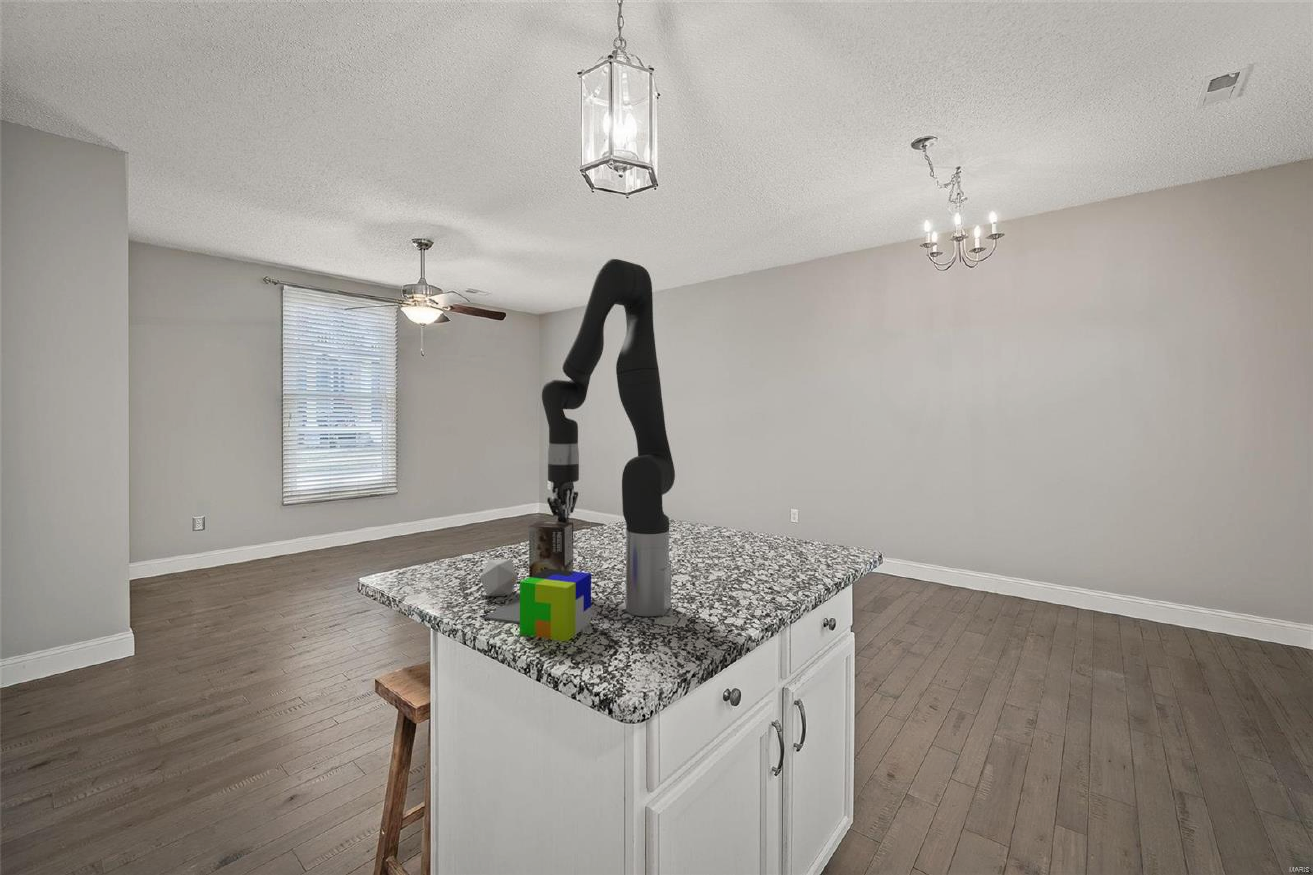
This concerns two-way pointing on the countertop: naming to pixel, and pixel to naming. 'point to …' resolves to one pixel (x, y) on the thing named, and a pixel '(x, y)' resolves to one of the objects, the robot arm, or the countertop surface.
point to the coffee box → (550, 546)
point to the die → (499, 577)
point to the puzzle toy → (555, 604)
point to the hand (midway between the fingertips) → (563, 532)
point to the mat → (507, 612)
